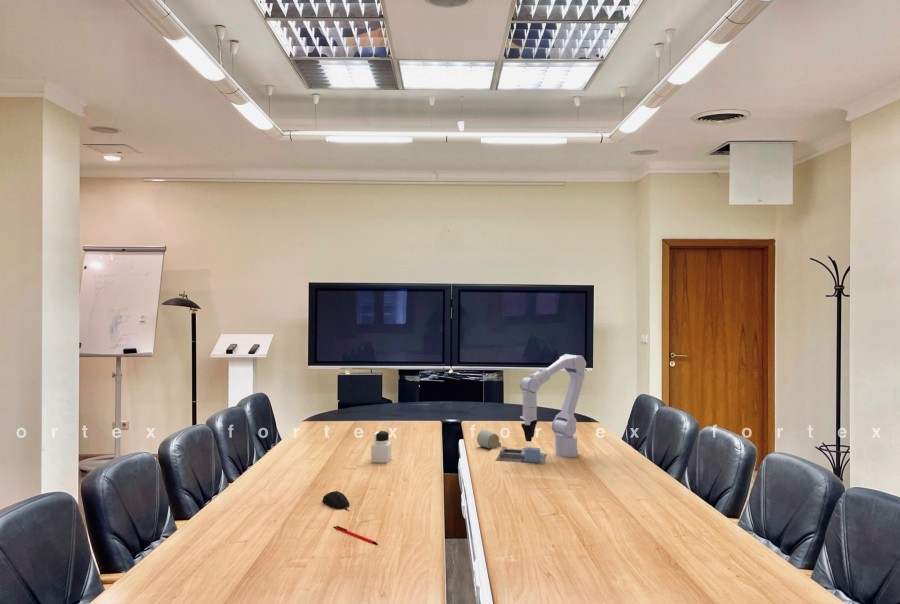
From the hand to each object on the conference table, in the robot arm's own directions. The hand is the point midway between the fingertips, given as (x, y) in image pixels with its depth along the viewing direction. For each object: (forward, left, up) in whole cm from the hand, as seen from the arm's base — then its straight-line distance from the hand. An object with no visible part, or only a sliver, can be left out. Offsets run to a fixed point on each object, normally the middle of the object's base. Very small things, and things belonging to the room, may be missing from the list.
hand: (529, 439), depth 236 cm
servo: (-1, +1, -9) cm, 9 cm away
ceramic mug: (+21, -21, -10) cm, 31 cm away
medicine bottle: (+61, +13, -10) cm, 63 cm away
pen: (+39, +90, -10) cm, 98 cm away
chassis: (+4, -3, -9) cm, 11 cm away
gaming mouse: (+55, +68, -10) cm, 87 cm away
